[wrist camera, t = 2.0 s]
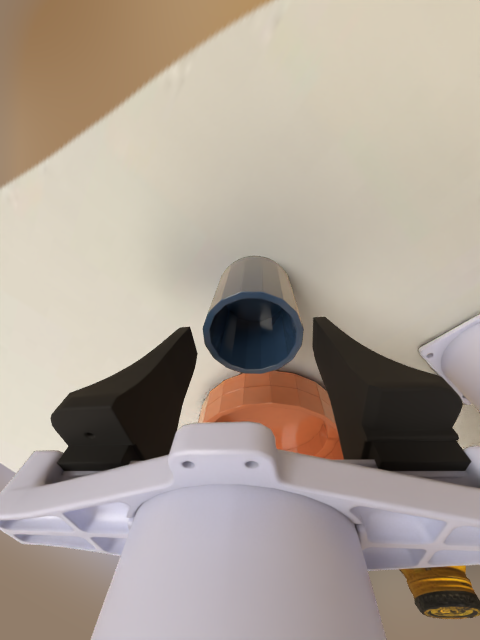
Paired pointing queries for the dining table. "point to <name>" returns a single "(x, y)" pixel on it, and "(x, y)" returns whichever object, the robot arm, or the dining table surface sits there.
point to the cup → (253, 318)
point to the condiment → (443, 592)
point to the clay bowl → (279, 410)
